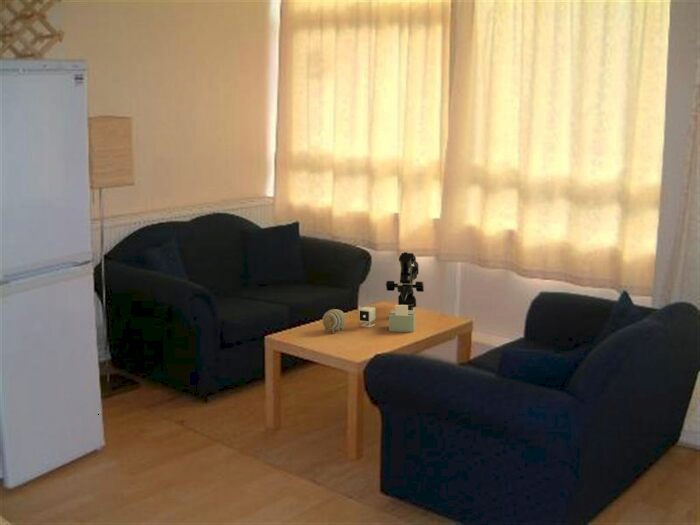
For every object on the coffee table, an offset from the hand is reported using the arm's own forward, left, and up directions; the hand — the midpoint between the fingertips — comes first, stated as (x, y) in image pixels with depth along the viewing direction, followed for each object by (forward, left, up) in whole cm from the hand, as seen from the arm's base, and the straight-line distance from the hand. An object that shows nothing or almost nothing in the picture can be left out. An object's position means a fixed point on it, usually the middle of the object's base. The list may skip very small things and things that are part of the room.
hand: (403, 300), depth 412 cm
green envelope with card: (+10, +7, -13) cm, 17 cm away
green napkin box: (+6, +4, -14) cm, 15 cm away
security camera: (+13, -12, -14) cm, 23 cm away
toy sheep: (+29, -19, -14) cm, 38 cm away
